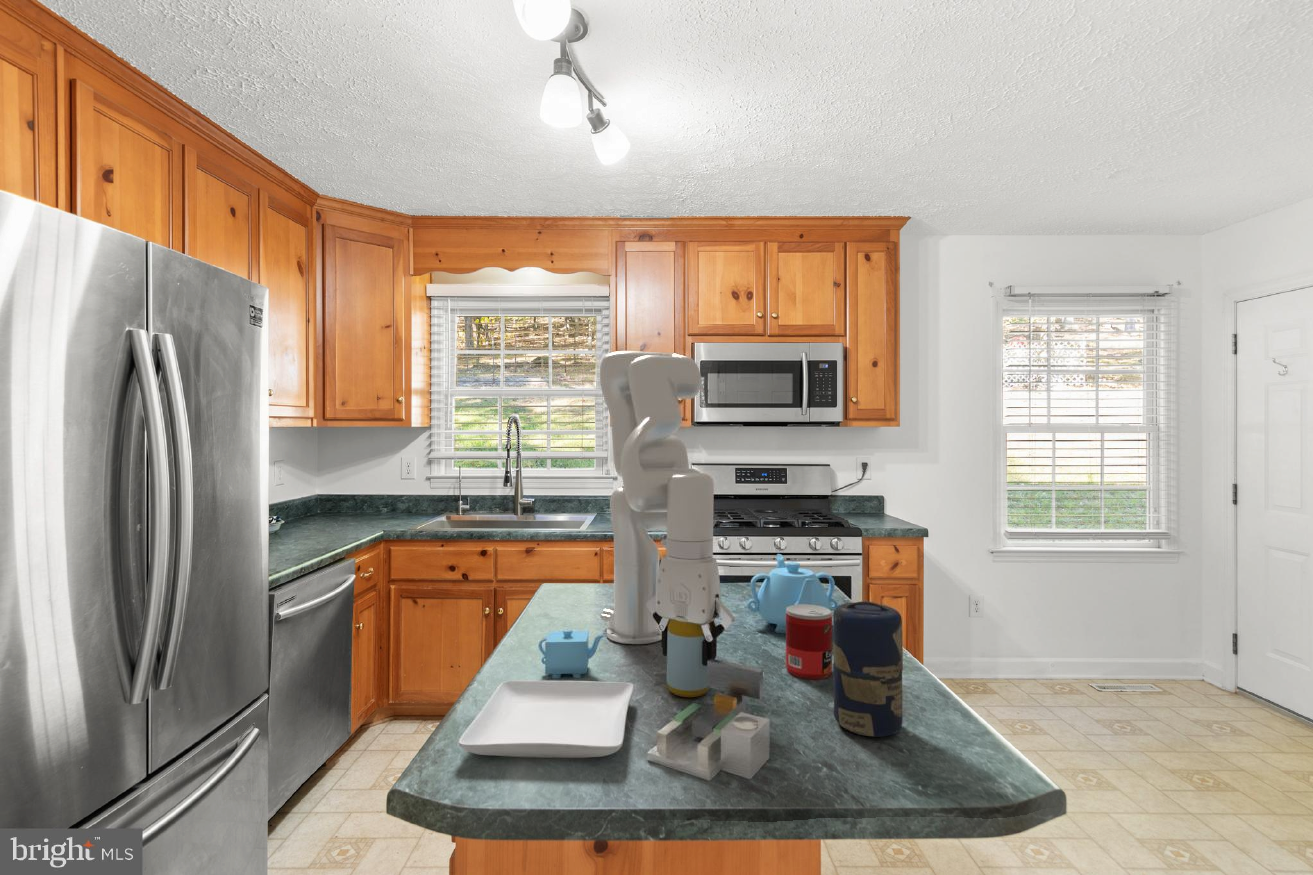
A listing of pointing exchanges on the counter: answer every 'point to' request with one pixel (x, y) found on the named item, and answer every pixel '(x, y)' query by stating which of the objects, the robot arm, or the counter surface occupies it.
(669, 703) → the counter surface
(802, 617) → the canned food
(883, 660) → the canister
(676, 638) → the bottle
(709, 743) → the gauge body
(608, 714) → the salad plate
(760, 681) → the grey t-shaped piece
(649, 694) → the counter surface
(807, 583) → the teapot
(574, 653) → the teapot
